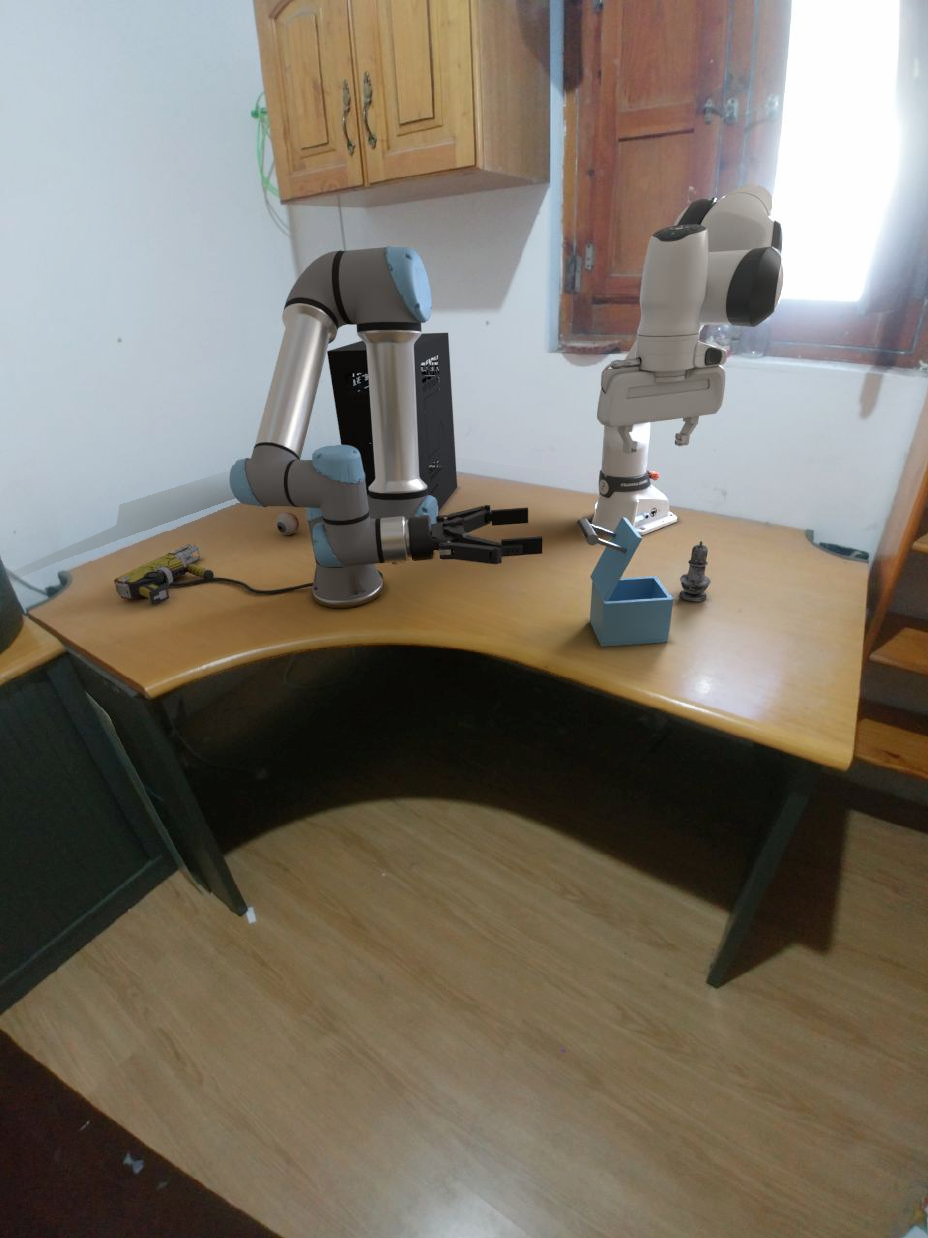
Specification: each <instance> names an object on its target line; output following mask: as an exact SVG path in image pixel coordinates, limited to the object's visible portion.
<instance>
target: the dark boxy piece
mask: <svg viewBox="0 0 928 1238" xmlns="http://www.w3.org/2000/svg"><path fill="white" fill-rule="evenodd" d="M326 355H327V360H328V369H329V373H330V380H331V387H332V393H333V400H334V406H335V415H336V420H337V426H338V427H337V428H338V433H339V439H340V440H339V441H340V445H349V446H353V447H355V448H356V449H357V450H358V451H359V453H360V456H361V461H362V465H363V470H364V473H365V483H366V491H367V495H369V486H370V485H371V484H372V483H373V482H374V481H375V478H376V477H375V463H374V448H373V434H372V419H371V405H370V390H369V376H368V361H367V347H366V344H365V342H364V341H363V340H359V341H356V342H353V343H350V344H347V345H342V346H340V347H336V348H333V349H330V350H327V351H326ZM450 355H451V354H450V341H449V332H427V333H422V334H421V336H420V337H419V338H418V339H417V340H416V342H415V343H414V364H415V388H416V411H417V435H418V458H419V477H420V479H421V480H422V481H423V482H424V483H425V484H426V485H427V491H428V495H431V496H432V497H435V498H436V500H437V505H438V513H439V512H440V511H441V510H442V508H443V507H444V505H445V504H446V503H447V501H448V500H449V499H450V498H451V496H452V495H453V493H454V492H455V491H456V489H457V488H458V478H457V477H458V475H457V459H456V441H455V424H454V407H453V391H452V390H453V389H452V388H453V387H452V375H451V373H452V372H451V358H450V357H451V356H450ZM429 361H430V362H429ZM436 363H437V364H436Z"/></svg>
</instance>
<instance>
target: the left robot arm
mask: <svg viewBox="0 0 928 1238" xmlns="http://www.w3.org/2000/svg"><path fill="white" fill-rule="evenodd" d="M431 293H432V292H431V286H430V282H429V276H428V274H427V270H426V268H425V265H424V262H423V260H422V257H420V255H419V254H418V252H417V251H416V250H414V249H413V248H411V247H407V246H390V245H387V246H384V247H373V248H361V249H350V250H332V251H329V252H326V253H324V254H322V255H320V256H319V257H317V258H316V259H314V260H313V261H312V262H311V263H310V264H309V265H308V266H307V267H306V268H305V269H304V270H303V271H302V273H301V274H300V275H299V276H298V278H297V279H296V281H295V282H294V284H293V286H292V287H291V289H290V291H289V292H288V296H287V297H286V299H285V303H284V307H283V310H282V314H281V315H282V316H281V319H282V324H283V325H284V330H283V331H284V332H283V336H282V339H281V342H280V343H281V344H280V348H279V351H278V355H277V360H276V362H275V366H274V369H273V374H272V377H271V382H270V386H269V389H268V393H267V397H266V401H265V404H264V407H263V412H262V417H261V420H260V424H259V428H258V431H257V436H256V439H255V442H254V446H253V450H252V453H251V456H250V457H245V458H239V459H237V460H236V461H235V463H234V464H233V465H231V468H230V470H229V477H228V478H229V487H230V490H231V493H232V494H233V497H235V499H236V500H237V501H238V502H239V503H241V504H243V505H246V506H255V507H262V508H268V507H289V508H291V507H292V508H293V507H294V508H305V511H306V521H307V524H308V525H307V526H308V530H309V535H310V540H311V545H312V551H313V555H314V560H315V567H314V568H315V569H314V576H313V582H309V583H304V584H300V585H296V586H290V587H285V588H278V589H267V590H265V589H264V590H263V589H255V588H253V587H251V586H249V585H248V584H247V583H245V582H243V581H240V580H236V579H232V578H227V577H214V578H210V579H209V580H205V579H204V578H199V579H193V580H190V581H182V582H173V583H170V584H169V585H168V586H167V587H169V586H170V587H185V586H191V585H195V584H199V583H206V582H226V583H232V584H234V585H235V584H236V585H239V586H241V587H244V588H245V589H246V590H247V591H250V592H252V593H254V594H258V595H259V594H261V595H271V594H281V593H285V592H291V591H296V590H301V589H305V588H309V587H312V588H311V590H312V595H313V600H314V601H315V603H317V604H318V605H320V606H322V607H326V608H330V609H331V608H332V609H347V608H356V607H359V606H364V605H366V604H368V603H370V602H372V601H374V600H376V599H378V598H379V597H380V595H382V593H383V591H384V583H383V582H384V581H383V580H384V576H383V573H382V572H381V571H380V570H379V569H378V568H377V566H376V564H389V563H391V564H392V565H396V564H397V563H402V562H403V563H404V562H405V563H406V562H408V561H409V559H410V558H411V560H412V561H414V562H419V561H420V562H421V561H431V560H433V559H434V557H435V553H434V551H437V552H438V556H439V560H446V561H447V560H454V561H455V560H456V561H465V562H471V563H472V562H473V563H480V564H488V565H498V564H502V563H503V558H506V557H507V558H508V557H518V556H520V557H521V556H533V555H543V547H544V546H543V543H544V538H543V536H541V535H540V536H539V535H538V536H526V537H515V538H513V537H512V538H501V539H500V541H496V540H492V539H487V538H482V537H477V536H475V535H469V533H471V532H473V531H477V530H479V529H481V528H483V527H486V526H488V525H490V524H491V527H498V526H510V525H523V524H525V525H526V524H529V507H515V508H501V509H491V508H492V507H491V505H490V504H485V505H479V506H476V507H473V508H469V509H464V510H461V511H460V510H459V511H456V512H452V513H449V514H442V515H439V512H438V505H437V500H436V498H435V497H432V496H431V495H428V491H427V485H426V484H425V483H424V482H423V481H422V480H421V479H420V477H419V458H418V435H417V411H416V388H415V364H414V343H415V342H416V340H417V339H418V338H419V337H420V336H421V334H423V333H422V324H425V323H426V322H428V321H429V320H430V318H431V316H432V308H433V307H432V306H433V305H432V304H433V303H432V294H431ZM346 325H347V326H348V325H349V326H354V325H356V335H357V336H358V338H360V339H361V341H364V342H365V344H366V347H367V361H368V376H369V386H368V387H369V390H370V405H371V419H372V434H373V448H374V463H375V477H376V478H375V481H374V482H373V483H372V484H371V485H370V486H369V495H367V491H366V483H365V473H364V470H363V465H362V461H361V456H360V453H359V451H358V450H357V449H356V448H355V447H353V446H349V445H341V444H335V445H327V446H321V447H318V448H317V449H315V450H314V451H313V452H312V454H311V459H301V458H302V453H303V450H304V446H305V443H306V442H305V441H306V437H307V434H308V429H309V424H310V421H311V417H312V413H313V409H314V406H315V405H314V404H315V400H316V397H317V392H318V389H319V383H320V379H321V376H322V371H323V367H324V362H325V359H326V355H327V351H328V346H329V344H331V343H333V342H335V339H336V338H337V335H338V331H339V329H340V328H342V327H343V326H346ZM368 376H367V377H368Z"/></svg>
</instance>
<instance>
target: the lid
mask: <svg viewBox="0 0 928 1238" xmlns="http://www.w3.org/2000/svg"><path fill="white" fill-rule="evenodd" d="M576 526H577V527H578V529H579V531H580V533H581V534H582V536H583V538H584V540H585V542H586V543H587V545H589V546H595V545H600V546H603V547H605V548H604V550H603V552H602V554H601V555H600V557H599V559H598V561H597V563H596V564H595V566H594V568H593V570H592V572H591V575H589V576H590V577H589V578H590V580H591V582H592V581H593V583H594V585H595V587H596V589H597V591H598V593H599V594H600V596H601V598H602V600H604V601H608V600H609V598H610V596H611V594H612V593H613V591H614V589H615V587H616V585H617V584H618V582H619V580H620V578H622V576H623V575H624V573H625V571H626V570H627V568H628V566H629V563H630V562H631V560H632V559H633V557H634V555H635V553H636V551H637V550H638V548H639V546H640V544H641V542H642V541H643V537H642V535H639V533H638V532H637V531H636V530H635V528H634V527H633V526H632V525H631V523H630V522H629V521H628V520H627V518H624V517H622V518H621V520H620V521H619V523H618V525H617V527H616V529H615V531H614V532H611V531H608V530H606V529H603V528H600V527H597V526H595V525H592V523H590V522H589V520H588V519H587V517H580V518H578V520H577V521H576ZM597 532H598V533H600V534H602V535H606V536H608V537H610V539H609V540H604V539H602V538H600V537H599V536H598V534H597Z"/></svg>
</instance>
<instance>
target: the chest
mask: <svg viewBox="0 0 928 1238" xmlns="http://www.w3.org/2000/svg"><path fill="white" fill-rule="evenodd" d="M590 594H591V595H590V610H589V611H590V613H589V623H590V625H591V627H592V629H593V632H594V633H595V636H596V638H597V640H598V642H599V644H600V647H602V648H604V647H619V646H634V645H648V644H663V643H668V642H669V635H670V628H671V621H672V615H673V607H674V600H675V598H674V597H672V595H671V593H670V592H669V591H668V590H667V588H666V587H665V585H664V584H663V583H662V582H661V581H660V579H659V578H658V576H657V575H651V576H636V577H621V578H620V580H619V582H618V584H617V585H616V587H615V589H614V591H613V593H612V594H611V596H610V598H609V600H608V601H604V600H602V598H601V596H600V594H599V593H598V591H597V589H596V587H595V585H594V583H593V581H592V580H591V593H590Z"/></svg>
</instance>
